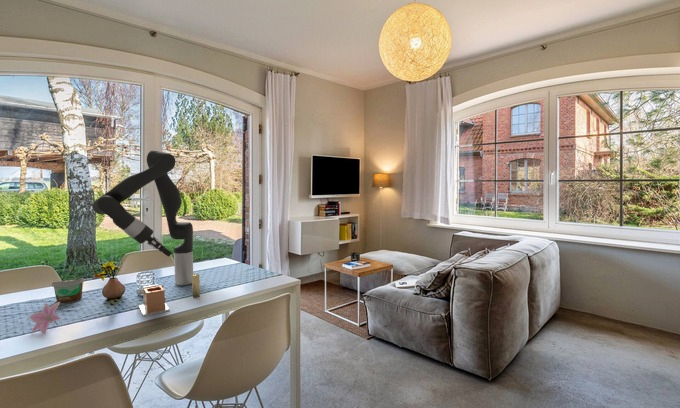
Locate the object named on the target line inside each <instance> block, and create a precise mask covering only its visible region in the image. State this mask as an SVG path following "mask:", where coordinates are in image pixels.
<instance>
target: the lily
mask: <svg viewBox="0 0 680 408" xmlns="http://www.w3.org/2000/svg"><path fill="white" fill-rule="evenodd" d="M60 304H61V303H60V302H57V301H56V302H55V303H54V304H52V305H51V306H49V303H47V302H45V304H44V306H43V307H42V310H41V311H38V312H34V313H33V314H30V315H29V316H28V317H29V319H30V320H31V321H32V322H34V323H35V324H34V326H33V328H32V329H31V333H34V332H36V331H38V330H39V331H40V333H41V334H42V335H43V334H45V335H46V332H47V331H48V328H49V325H50V324H51V323H53V322H54V323H55V324H56V325H57V326H59V324H58V322H57V321H59V320H61V318H60V317H59V316H58V315H57V314H55V312H56V311H57V309H58V307H59V305H60Z"/></svg>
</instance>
